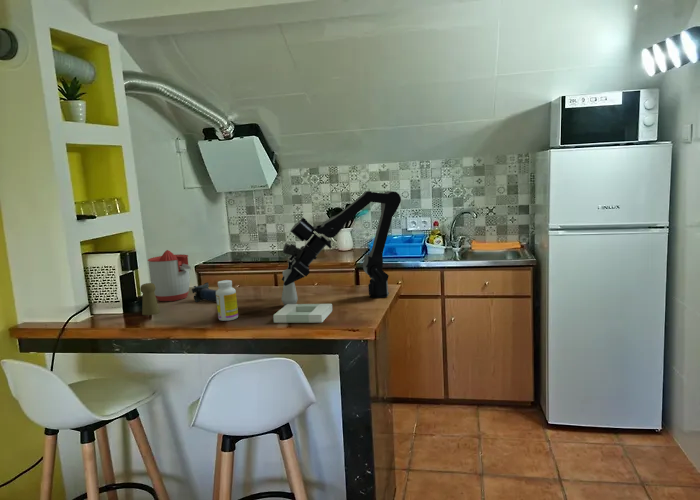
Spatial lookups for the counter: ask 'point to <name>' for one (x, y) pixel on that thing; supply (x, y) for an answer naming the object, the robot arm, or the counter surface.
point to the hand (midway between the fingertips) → (283, 282)
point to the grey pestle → (289, 291)
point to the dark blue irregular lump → (204, 293)
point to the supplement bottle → (226, 301)
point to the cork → (149, 299)
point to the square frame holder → (302, 313)
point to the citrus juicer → (170, 276)
